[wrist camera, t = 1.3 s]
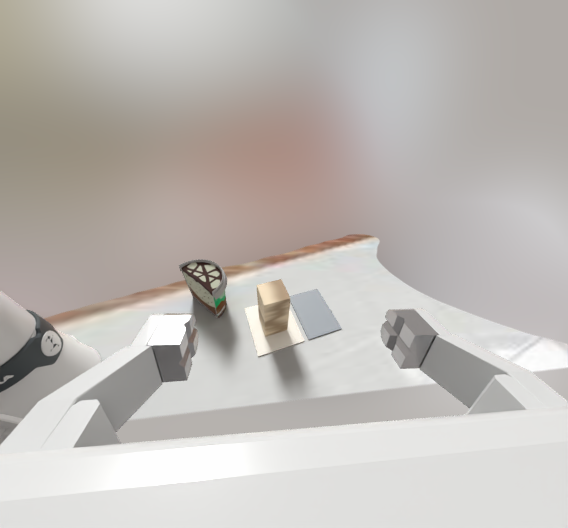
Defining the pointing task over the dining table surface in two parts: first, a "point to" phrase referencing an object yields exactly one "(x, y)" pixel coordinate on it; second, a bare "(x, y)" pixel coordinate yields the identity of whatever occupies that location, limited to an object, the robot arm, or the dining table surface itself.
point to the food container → (206, 284)
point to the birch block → (273, 307)
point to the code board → (294, 323)
